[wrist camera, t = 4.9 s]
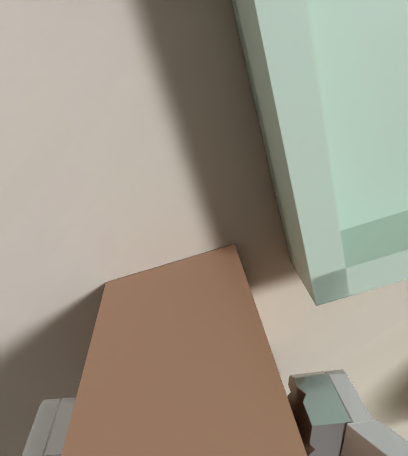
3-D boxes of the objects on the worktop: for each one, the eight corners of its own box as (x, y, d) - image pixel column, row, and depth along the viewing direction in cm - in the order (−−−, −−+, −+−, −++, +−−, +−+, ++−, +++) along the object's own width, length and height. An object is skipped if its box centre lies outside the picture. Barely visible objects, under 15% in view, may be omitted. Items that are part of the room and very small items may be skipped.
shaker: (151, 373, 15) (127, 901, 6) (105, 282, 13) (-49, 880, 4) (263, 341, 15) (424, 837, 5) (234, 243, 13) (416, 774, 3)
